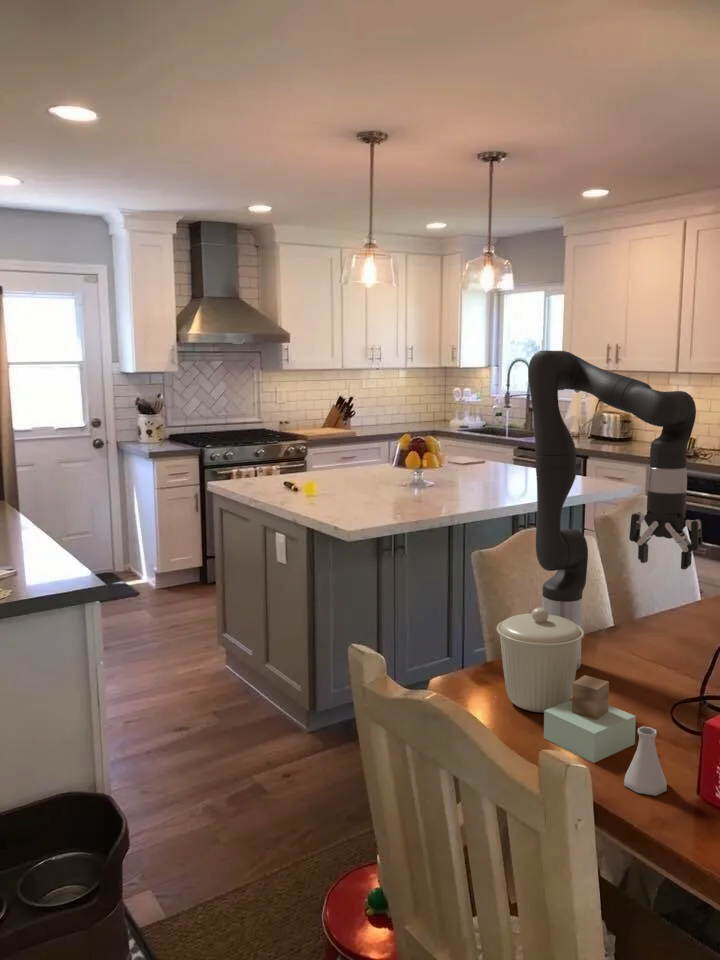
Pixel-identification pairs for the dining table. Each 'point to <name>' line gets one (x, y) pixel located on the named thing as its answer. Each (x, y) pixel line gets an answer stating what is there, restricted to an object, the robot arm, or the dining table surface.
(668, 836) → the dining table surface
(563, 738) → the sage box
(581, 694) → the walnut block
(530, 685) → the canister
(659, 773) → the flask
